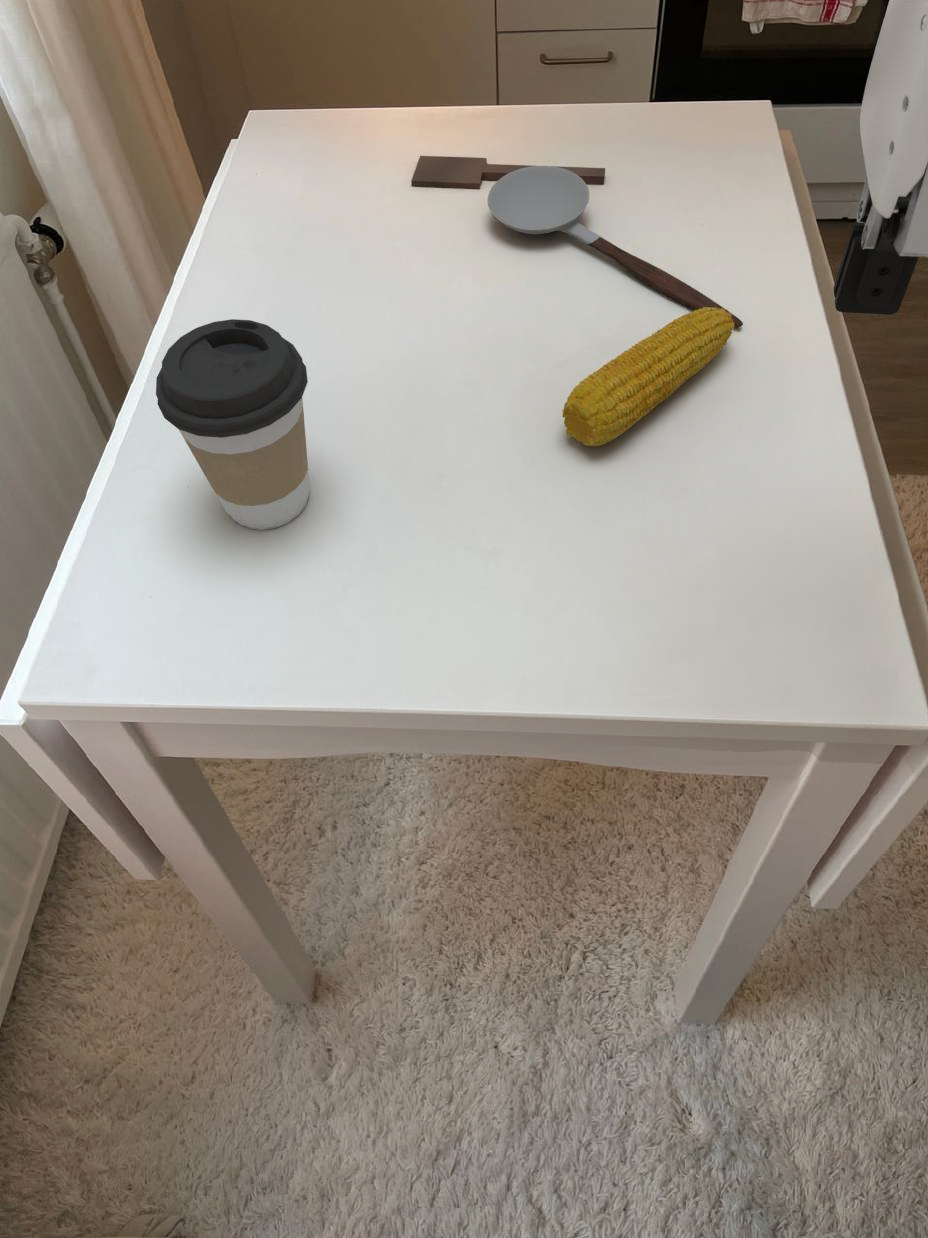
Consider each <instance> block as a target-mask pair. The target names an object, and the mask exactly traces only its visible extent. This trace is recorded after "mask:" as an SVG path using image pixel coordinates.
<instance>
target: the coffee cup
mask: <svg viewBox="0 0 928 1238" xmlns="http://www.w3.org/2000/svg"><path fill="white" fill-rule="evenodd" d="M307 371H308V370H307V366H306V364H305V363H304V361H303V357H302V355H301V354H300V353H299V351H298V350H297V348H296V347H295V345H294V344H293V343H292V342H290V341H288V340H287V339H285V337H283V336H282V335H281V333H280V332H278V331H277V330H275V329H274V328H272V327H271V326H269V325H268V324H264V323H262V322H259V321H254V320H250V319H235V318H234V319H233V318H231V319H225V320H217V321H212V322H209V323H207V324H203V325H201V326H197V327H196V328H193V329H192V330H190V331H188V332H187V333H185V334H183V335H181V336H179V338H178V339H177V340H175V342H174V343H173V344H172V345H171V346H170V347H169V348H167V351H166V352H165V355H164V357H163V359H162V361H161V368H160V370H159V372H158V374H157V376H156V377H155V378H156V381H155V384H156V385H155V396H156V398H157V406H158V408H159V410H160V412H161V414H162V416H163V418H164V419H165V420H166V421H167V422H169V423H170V424H171V425H172V426H174V427H175V428H176V429H177V430H178V431H179V433H180V435H181V437H182V438H183V439H184V442H185V444H186V445H187V447H188V448H189V450H190V453H192V456H193V457H194V460H195V461H196V462H197V464H198V466H199V468H200V470H201V471H202V473H203V474H204V476H205V478H206V480H207V482H208V483H209V485H210V487H211V488H212V490H213V492H214V493H215V495H216V497H217V499H218V500H219V502H220V504H221V506H222V508H223V509H224V511H225V513H226V514H227V515H229V516H230V517H231V519H232V520H233V521H235V523H237V524H238V525H239V526H242V527H244V528H247V529H249V530H258V531H265V530H270V529H271V530H272V529H277V528H280V527H282V526H285V525H287V524H289V523H291V522H292V521H294V520H295V519H296V518H297V517H299V516H300V515H301V513H303V511H304V509H305V508H306V507H307V504H308V501H309V493H310V490H311V487H310V475H309V462H308V450H307V449H308V448H307V438H306V425H305V413H304V412H305V411H304V399H303V396H304V394H305V391H306V388H307V385H308V383H309V382H308V372H307Z"/></svg>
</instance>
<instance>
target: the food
mask: <svg viewBox="0 0 928 1238" xmlns="http://www.w3.org/2000/svg"><path fill="white" fill-rule="evenodd" d="M731 313H732V312H731V311H729V313H728V312H727V313H726V311H725V310H724V309H719V308H712V307H703V308H702V309H699V310H694V311H691V312H688V313H685V314H683V315H681V316H679V317H677V318H675V319H673V320H672V321H671V322H668V324H666V325H664V326H663V327H662V328H659V329H658V330H657V331H655V332H654V333H651V335H649V336H647V337H645V338H644V339H642V340H640V341H638V342H637V343H635V344H634V345H632V346H631V347H630V348H629V349H627V350H624V351H623V352H622V353H621V354H619V355H618V356H616V357H615V358H614V359H611V360H609V361H608V362H607V363H605V364H604V365H602V366H601V367H600V368H598V369H597V370H596V371H593V372H592V373H591V374H588V376H586V377H585V378H583V380H581V381H579V383H578V384H577V385H575V387H574V388H573V389H572V391H570V393H569V395H568V397H567V398H566V399H567V400H566V402H564V405H563V409H562V418H564V420H563V424H564V427H565V428H566V430H565V433H566V434H567V436H568V437H569V438H575V441H577V442H579V443H581V444H583V445H584V446H588V447H600V446H604V445H606V444H608V443H609V442H613V440H616V438H618V437H620V436H621V435H623V434H624V433H625V432H626V431H627V430H629V429H630V428H631V427H632V426H634V425H635V424H636V423H637V422H639V421H640V420H641V419H643V417H645V416H646V415H648V414H649V413H650V412H651V411H653V409H654V408H657V406H658V405H660V404H661V403H662V402H664V401H665V400H666V399H668V397H670V396H671V395H672V394H673V393H674V392H675V391H678V390H677V389H678V388H680V387H681V386H683V384H684V383H685V382H686V381H687V380H689V379H691V378H692V377H693V376H695V375H696V374H697V373H698V372H700V370H702V369H703V368H705V366H706V365H707V364H709V362H710V361H712V360H713V359H714V358H715V357H716V356H717V355H718V354H719V353H720V351H721V350H722V349H723V348H724V347H725V346H726V344H727V342H728V340H729V339H730V337H732V334H733V332H732V331H733V330H734V329H735V326H734V322H733V320H732V319H731V317H732V314H733V313H732V314H731Z"/></svg>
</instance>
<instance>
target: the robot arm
mask: <svg viewBox="0 0 928 1238" xmlns="http://www.w3.org/2000/svg"><path fill="white" fill-rule="evenodd" d="M859 131H860V133H859V134H860V141H861V148H862V154H863V155H862V156H863V160H864V168H865V173H866V176H865V180H864V183H863V184H864V185H863V188H862V192H861V195H860V198H859V203H858V207H857V211H856V213H857V214H856V223H858V224H859V225H858V224H852V225H851V229H850V232H849V235H848V238H847V242H846V245H845V249H844V251H843V255H842V258H841V261H840V265H839V267H838V272H837V274H836V278H835V281H834V285H833V289H832V290H833V296H834V308H835V310H836V311H837V312H839V313H848V314H850V313H851V314H867V315H868V314H869V315H872V314H873V315H887V316H889V315H894V314H896V313H898V311H899V310H900V308H901V306H902V303H903V301H904V298H905V295H906V293H907V290H908V287H909V285H910V282H911V279H912V277H913V273H914V271H915V268H916V265H917V263H918V261H919V258H928V0H889V1H888V4H887V8H886V11H885V14H884V17H883V21H882V24H881V28H880V31H879V35H878V37H877V42H876V45H875V49H874V52H873V55H872V60H871V63H870V67H869V71H868V75H867V78H866V83H865V87H864V91H863V97H862V101H861V106H860V114H859ZM860 224H864V225H860Z"/></svg>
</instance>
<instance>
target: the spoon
mask: <svg viewBox="0 0 928 1238" xmlns="http://www.w3.org/2000/svg"><path fill="white" fill-rule="evenodd" d="M530 166H531V167H526V168H522V169H518V170H515V171H513V172H511V173H508V174H507V175H505V176H503V177H502V178H501V179H499V180H498V181H496V182H494V183H493V185H492V187H490V189H489V192H488V196H487V207H488V209H489V211H490V213H491V214H492V215H493V217H494V218H495V219H496V220H497V221H498V222H499V223H501V224H502V225H504V226H505V227H507V228H508V229H511V230H512V231H513V230H514V231H516V232H519V233H523V234H527V235H528V234H529V235H543V234H549V233H553V232H556V231H557V232H562V233H565V234H567V235H569V236H571V237H573V238H575V239H576V240H578V241H580V242H581V243H584V244H585V245H587V246H588V247H591V248H593V249H594V250H596V251H598V252H599V253H601V254H603V255H604V256H605V257H608V258H610V259H611V260H613V261H614V262H615V263H617V264H618V265H619V266H620V267H622V268H623V269H625V270H626V271H628V272H629V273H630V274H632V275H633V276H635V277H636V278H637V279H639V280H641V281H642V282H643V283H645V284H647V285H649V286H650V287H652V288H653V289H655V290H657V291H658V292H660V293H662V294H663V295H665V296H667V297H669V298H671V299H673V300H674V301H676V302H678V303H680V304H682V305H684V306H686V307H687V308H690V309H692V310H694V311H695V310H699V309H702V308H703V307H712V308H719V309H724V310H725V311H726V313H727V312H728V313H729V312H730V311H729V310H727V309H726V308H725V307H724V306H721V305H720V304H719V303H718V302H716V301H714V300H713V299H711V298H710V297H708V296H707V295H705V294H703V293H702V292H700V291H699V290H697V289H696V288H694V287H692V286H690V285H689V284H687V283H686V282H684V281H683V280H681V279H679V278H677V277H675V276H674V275H672V274H670V273H669V272H666V271H665V270H663V269H661V268H659V267H657V266H656V265H654V264H652V263H649V262H647V261H646V260H644V259H642V258H639V257H638V256H635V255H633V254H631V253H629V252H628V251H625V250H624V249H622V248H620V247H618V246H617V245H615V244H614V243H612V242H610V241H609V240H607V239H605V238H604V237H602V236H600V235H599V234H598V233H595V232H594V231H592V230H590V229H589V228H587V227H586V226H585V225H583V224H582V223H580V222H579V220H578V218H579V217H580V216H581V215H582V214H583V213H584V211H585V210H586V208H587V206H588V205H589V201H590V190H589V187H588V184H586V183H585V182H584V181H583V180H582V179H581V178H580V177H579V176H578V175H576V174H575V173H573V172H571V171H569V170H566V169H563V168H559V167H560V166H559V167H554V166H555V165H530ZM730 313H731V314H732V317H731V319H732V320H733V322H734V328H741V327H743V325H744V323H743V321H742V320H741V319H740V318H739V317H737V316H736V315H735V314H733V313H732V312H730Z"/></svg>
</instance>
